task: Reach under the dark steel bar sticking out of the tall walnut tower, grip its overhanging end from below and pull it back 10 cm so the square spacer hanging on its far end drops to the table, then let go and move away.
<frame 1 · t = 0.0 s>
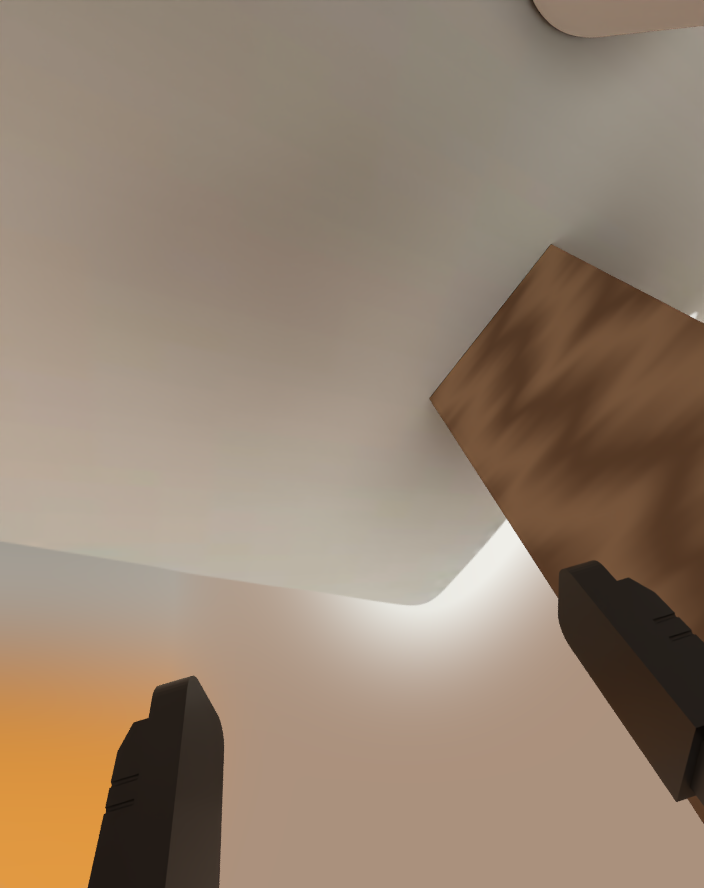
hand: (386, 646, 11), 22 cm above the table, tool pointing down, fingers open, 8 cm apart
tower: (525, 353, 34), on the table
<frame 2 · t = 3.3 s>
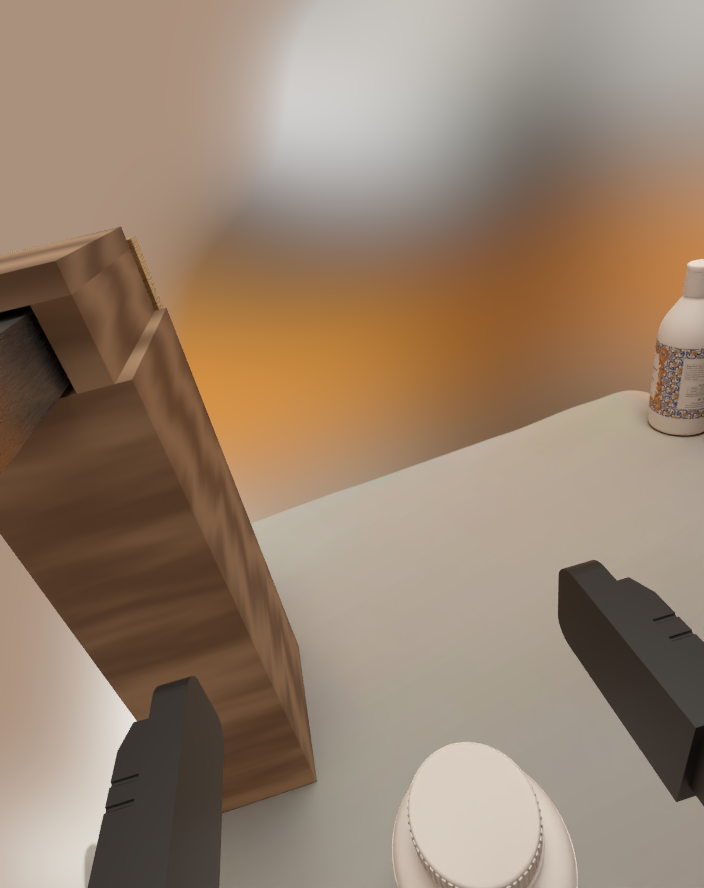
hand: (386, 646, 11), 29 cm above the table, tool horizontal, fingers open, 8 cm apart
tower: (258, 720, 41), on the table
shaft: (44, 330, 23), point 34 cm above the table, slide at 0.0 cm, touching spacer
bath foam: (678, 424, 64), on the table
spacer: (124, 337, 34), point 30 cm above the table, touching shaft
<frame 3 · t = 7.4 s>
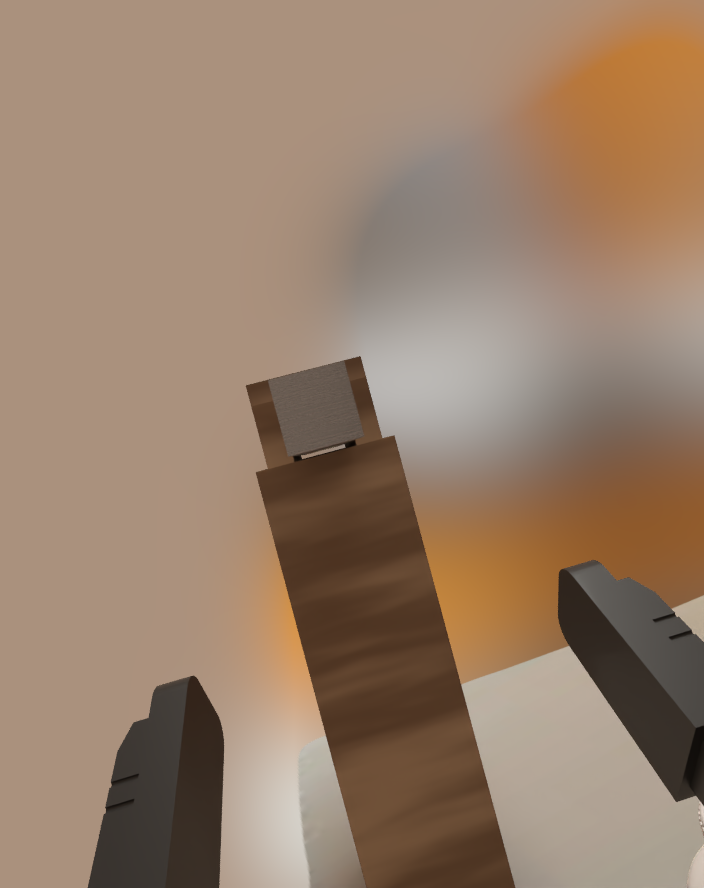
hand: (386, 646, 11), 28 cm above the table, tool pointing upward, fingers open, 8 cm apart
shaft: (317, 426, 33), point 34 cm above the table, slide at 0.0 cm, touching spacer
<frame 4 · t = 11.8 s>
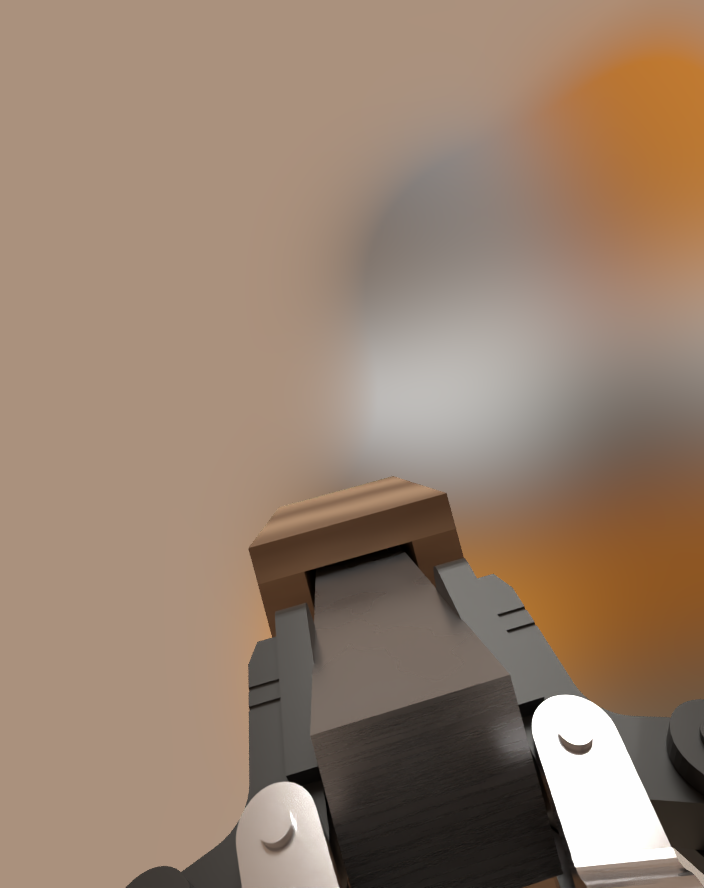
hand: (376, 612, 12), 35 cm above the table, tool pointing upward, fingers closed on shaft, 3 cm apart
shaft: (361, 576, 21), point 34 cm above the table, slide at 0.0 cm, touching gripper, spacer
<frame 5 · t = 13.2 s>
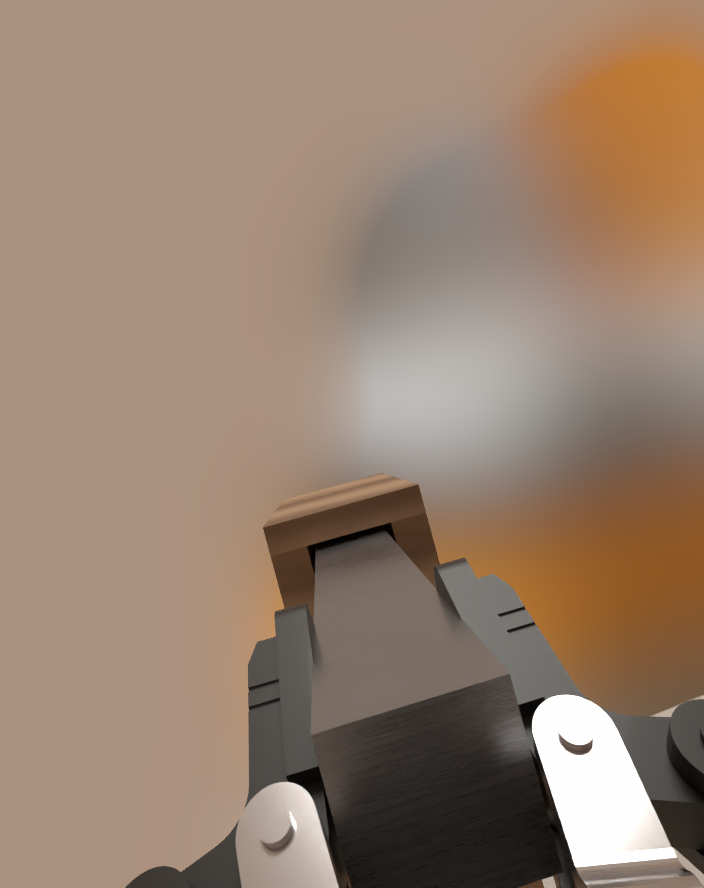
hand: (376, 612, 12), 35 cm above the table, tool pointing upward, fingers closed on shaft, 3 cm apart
shaft: (360, 576, 21), point 34 cm above the table, slide at 4.5 cm, touching gripper
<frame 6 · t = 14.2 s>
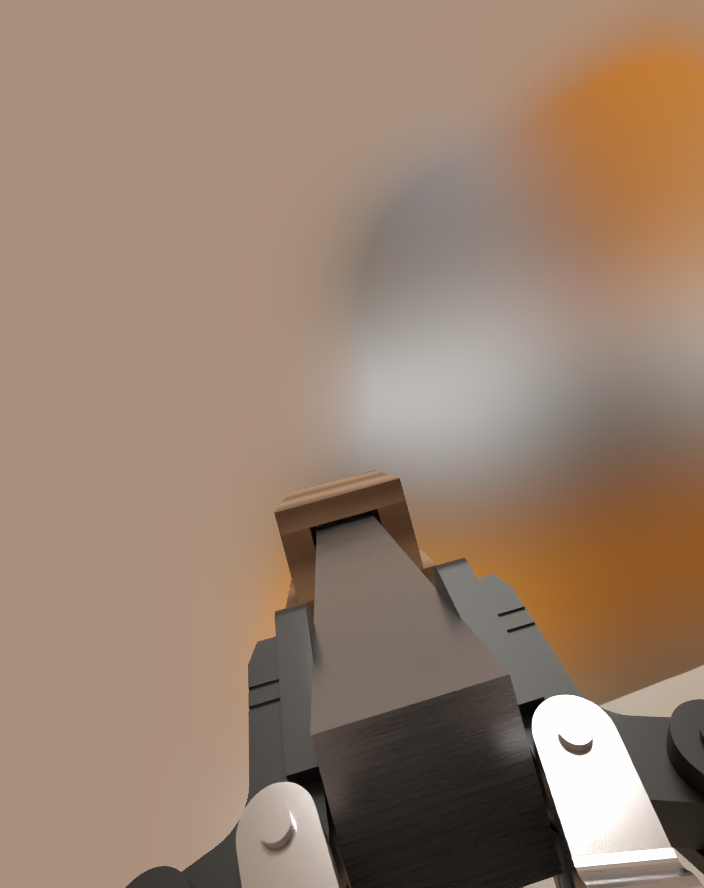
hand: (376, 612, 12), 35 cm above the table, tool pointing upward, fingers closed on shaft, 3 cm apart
shaft: (360, 576, 21), point 34 cm above the table, slide at 9.5 cm, touching gripper
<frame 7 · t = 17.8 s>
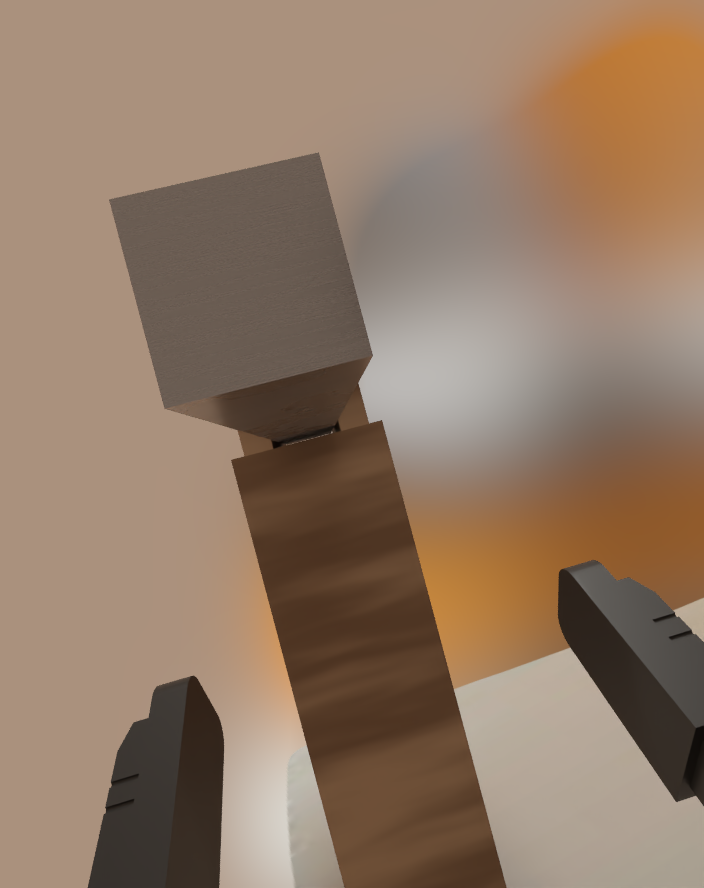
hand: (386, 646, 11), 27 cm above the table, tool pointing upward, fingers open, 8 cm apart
shaft: (292, 393, 21), point 34 cm above the table, slide at 9.9 cm
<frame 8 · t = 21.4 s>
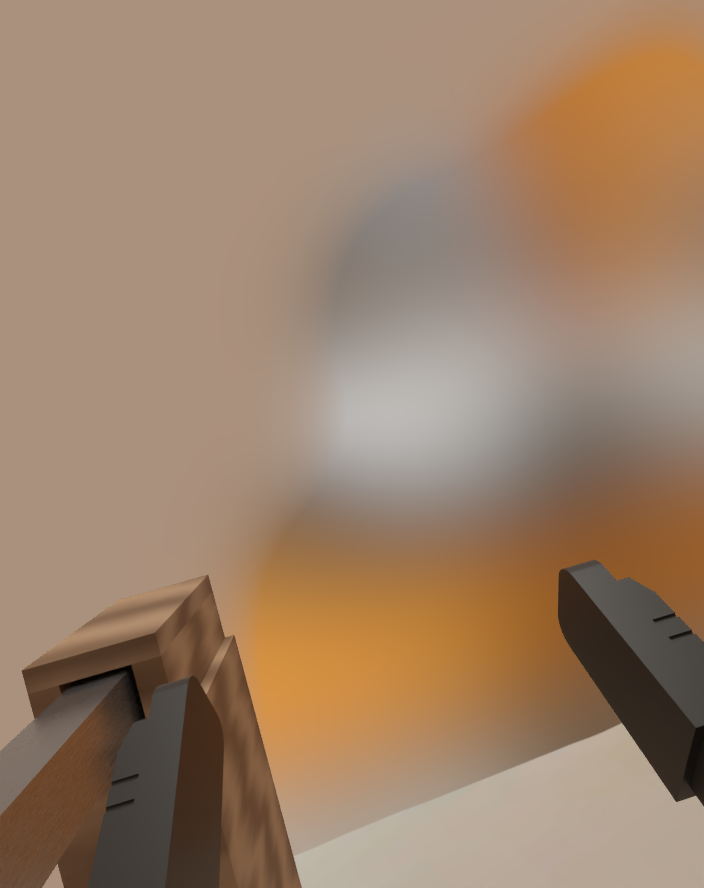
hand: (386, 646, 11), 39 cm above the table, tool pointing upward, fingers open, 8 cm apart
shaft: (45, 781, 20), point 34 cm above the table, slide at 9.9 cm
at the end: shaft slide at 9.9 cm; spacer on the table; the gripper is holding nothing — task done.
